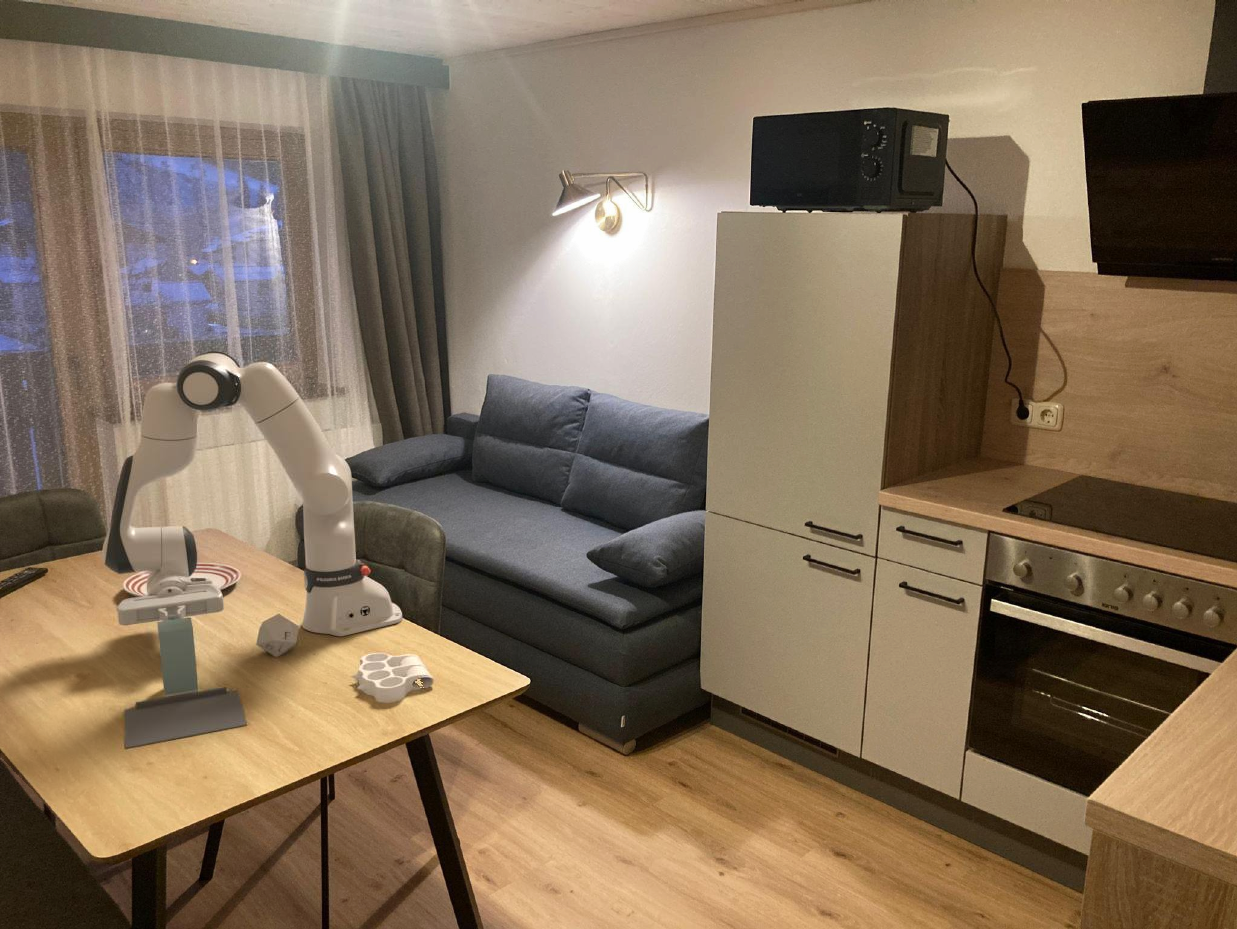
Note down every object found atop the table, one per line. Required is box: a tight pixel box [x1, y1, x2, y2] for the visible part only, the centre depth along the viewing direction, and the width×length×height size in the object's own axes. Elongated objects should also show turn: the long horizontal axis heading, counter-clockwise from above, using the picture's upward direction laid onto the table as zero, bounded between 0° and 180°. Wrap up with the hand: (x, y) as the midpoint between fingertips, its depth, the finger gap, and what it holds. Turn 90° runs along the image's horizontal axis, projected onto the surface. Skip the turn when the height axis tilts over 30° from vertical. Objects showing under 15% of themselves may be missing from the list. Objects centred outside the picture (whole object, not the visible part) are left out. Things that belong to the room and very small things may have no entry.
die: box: [255, 613, 299, 658], centre depth 212 cm, size 8×9×10 cm
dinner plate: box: [122, 562, 242, 597], centre depth 250 cm, size 28×27×3 cm
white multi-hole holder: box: [350, 652, 435, 704], centre depth 199 cm, size 3×18×15 cm
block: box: [156, 616, 199, 697], centre depth 192 cm, size 6×6×14 cm
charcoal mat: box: [124, 686, 248, 750], centre depth 183 cm, size 20×16×1 cm
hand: (173, 618), depth 202 cm, fingers closed
